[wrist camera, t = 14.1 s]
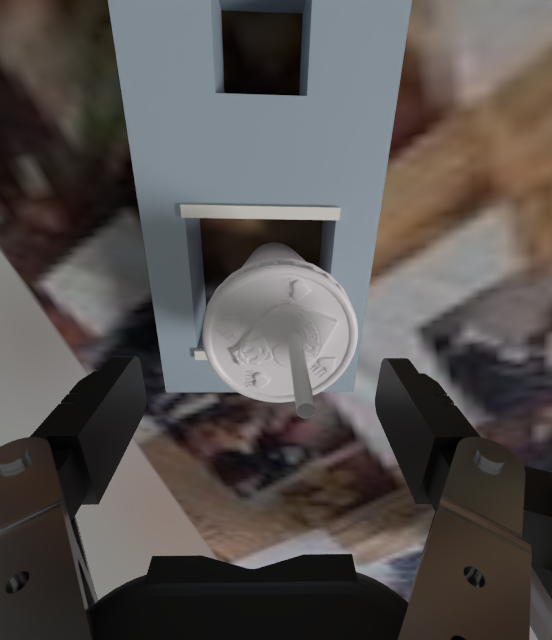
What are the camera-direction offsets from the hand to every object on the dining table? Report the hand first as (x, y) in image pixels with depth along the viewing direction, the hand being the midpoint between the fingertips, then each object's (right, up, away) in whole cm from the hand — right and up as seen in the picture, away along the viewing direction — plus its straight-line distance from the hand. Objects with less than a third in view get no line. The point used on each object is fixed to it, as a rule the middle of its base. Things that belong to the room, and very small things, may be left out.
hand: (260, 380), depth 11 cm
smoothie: (0, +5, +11) cm, 12 cm away
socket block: (0, +10, +9) cm, 13 cm away
